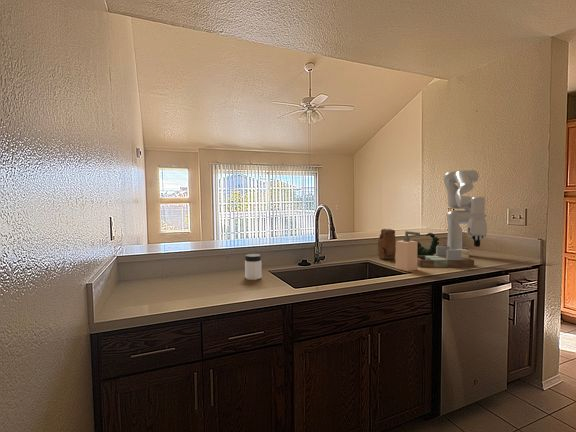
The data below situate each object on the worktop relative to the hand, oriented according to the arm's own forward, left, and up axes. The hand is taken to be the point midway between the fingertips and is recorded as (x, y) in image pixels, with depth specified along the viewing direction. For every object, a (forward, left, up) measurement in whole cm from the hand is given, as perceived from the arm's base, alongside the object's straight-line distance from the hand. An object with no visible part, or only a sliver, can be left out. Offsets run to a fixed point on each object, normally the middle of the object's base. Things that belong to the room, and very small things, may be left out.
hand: (477, 246), depth 198 cm
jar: (+31, -135, -11) cm, 139 cm away
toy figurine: (-23, -25, -11) cm, 36 cm away
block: (-19, -50, -11) cm, 55 cm away
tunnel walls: (-1, -17, -7) cm, 19 cm away
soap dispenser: (+14, -47, -11) cm, 50 cm away
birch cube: (-1, -8, -7) cm, 11 cm away
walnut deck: (-1, -22, -11) cm, 24 cm away
